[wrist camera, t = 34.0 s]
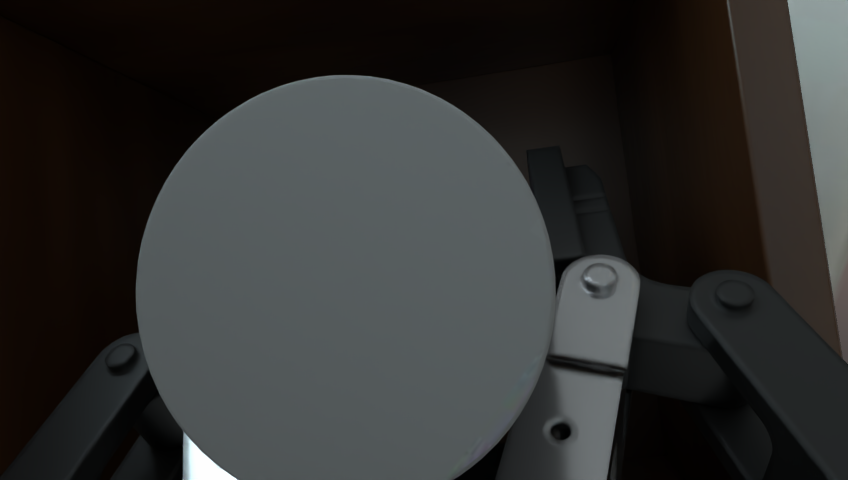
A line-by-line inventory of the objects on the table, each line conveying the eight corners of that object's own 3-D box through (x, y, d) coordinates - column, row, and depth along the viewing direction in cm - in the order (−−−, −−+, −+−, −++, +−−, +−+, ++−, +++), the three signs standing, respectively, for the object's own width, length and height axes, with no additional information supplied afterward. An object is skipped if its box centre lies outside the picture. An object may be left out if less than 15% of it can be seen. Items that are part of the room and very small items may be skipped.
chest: (630, 32, 23) (754, -227, 11) (691, 473, 22) (902, 726, 10) (202, 104, 25) (-83, -42, 13) (239, 501, 24) (-31, 730, 12)
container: (556, 238, 21) (646, 154, 6) (504, 366, 21) (460, 611, 6) (429, 188, 21) (219, 2, 7) (379, 312, 21) (59, 406, 7)
